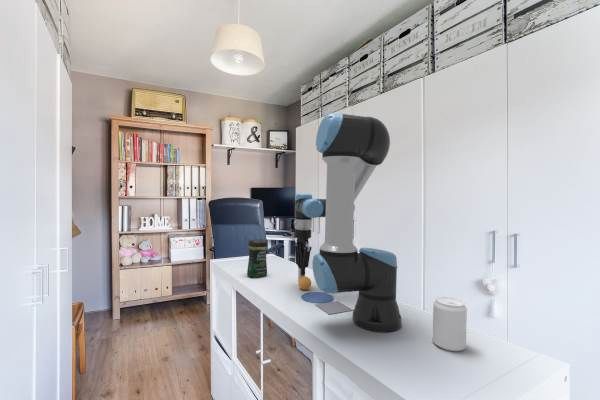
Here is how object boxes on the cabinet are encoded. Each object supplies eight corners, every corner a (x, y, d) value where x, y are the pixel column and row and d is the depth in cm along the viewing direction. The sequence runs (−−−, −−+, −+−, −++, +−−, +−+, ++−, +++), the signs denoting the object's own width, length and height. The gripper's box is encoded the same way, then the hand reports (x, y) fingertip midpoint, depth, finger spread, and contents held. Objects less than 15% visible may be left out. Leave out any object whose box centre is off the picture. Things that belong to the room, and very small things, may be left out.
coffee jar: (252, 279, 142) (253, 240, 142) (245, 275, 149) (245, 238, 149) (269, 276, 148) (270, 239, 148) (262, 273, 154) (262, 237, 154)
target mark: (340, 300, 115) (340, 300, 115) (310, 305, 109) (310, 304, 109) (323, 290, 126) (323, 290, 126) (295, 294, 121) (295, 294, 121)
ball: (309, 290, 129) (314, 286, 125) (298, 292, 127) (303, 287, 123) (306, 278, 132) (311, 274, 128) (295, 279, 130) (300, 275, 126)
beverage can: (458, 339, 84) (458, 297, 84) (471, 354, 76) (472, 307, 76) (428, 337, 85) (429, 295, 85) (438, 351, 77) (439, 305, 77)
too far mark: (353, 310, 104) (353, 309, 104) (329, 314, 100) (329, 314, 100) (337, 301, 113) (337, 300, 113) (314, 305, 109) (314, 304, 109)
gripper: (289, 227, 135) (287, 279, 135) (301, 230, 123) (300, 287, 123) (303, 227, 138) (302, 277, 138) (317, 230, 126) (315, 285, 127)
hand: (301, 282), depth 131 cm, fingers closed
